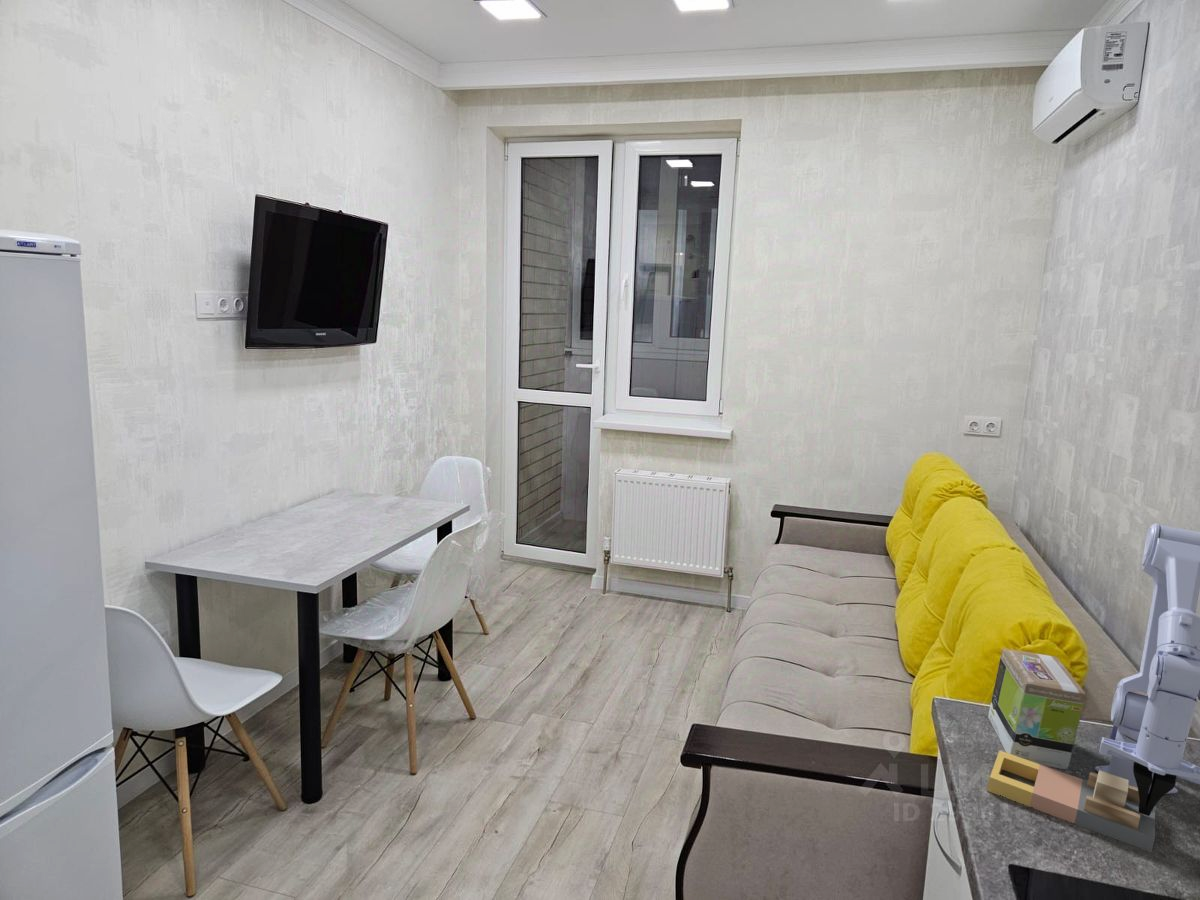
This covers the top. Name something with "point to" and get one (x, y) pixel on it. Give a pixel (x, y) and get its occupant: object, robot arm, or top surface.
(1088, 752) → the top surface
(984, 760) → the top surface
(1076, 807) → the board
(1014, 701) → the tea box
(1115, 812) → the channel walls
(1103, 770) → the robot arm
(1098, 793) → the birch block
